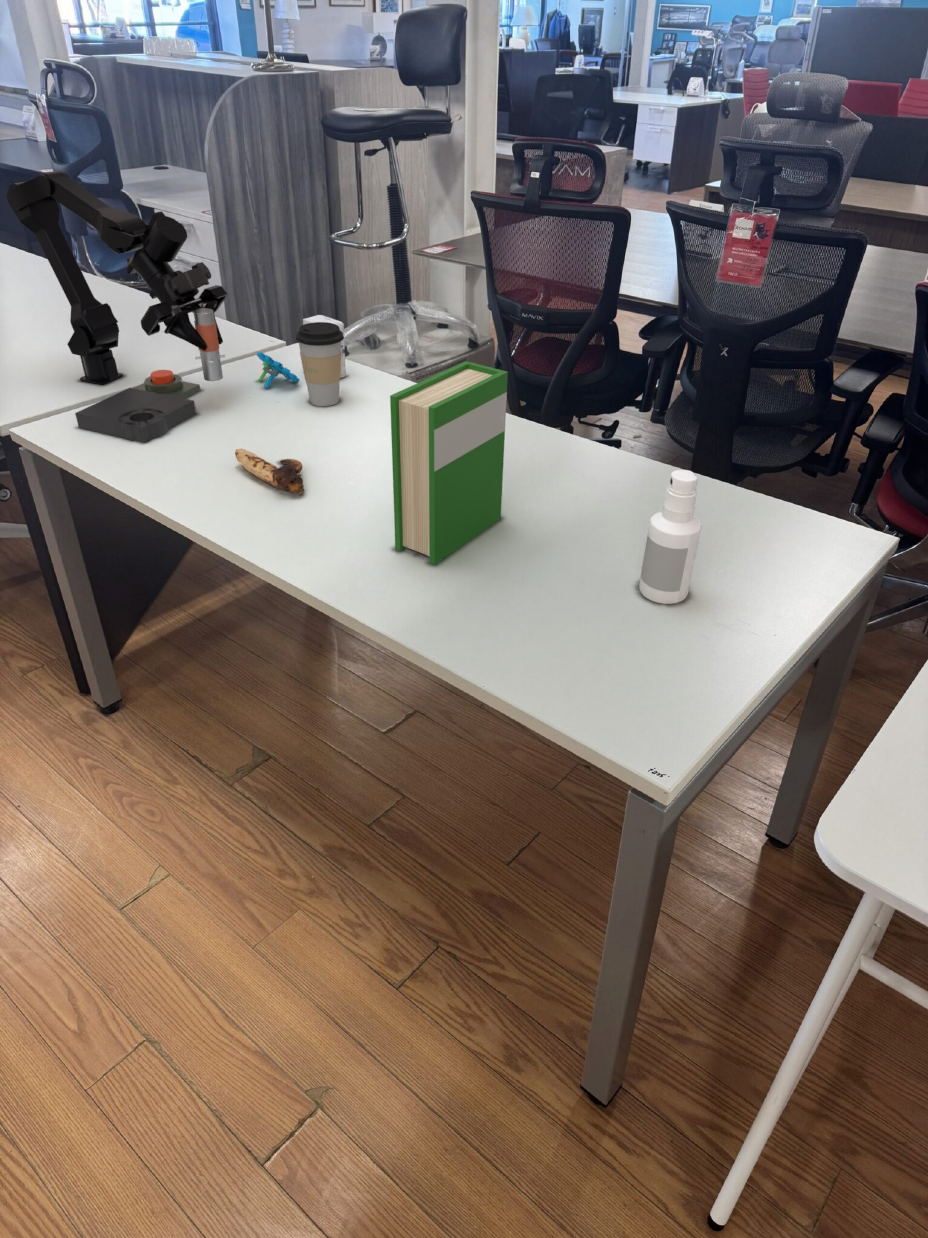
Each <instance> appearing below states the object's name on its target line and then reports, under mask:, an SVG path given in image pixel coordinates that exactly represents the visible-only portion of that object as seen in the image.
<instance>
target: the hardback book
mask: <svg viewBox="0 0 928 1238" xmlns="http://www.w3.org/2000/svg"><path fill="white" fill-rule="evenodd" d="M508 377H509V371H506V370H502V369H499V368H495V367H490V366H486V365H483V364H480V363H475V362H471V361H467V360H465V361H463V362H461V363H458V364H456V365H455V366H452V367H450V368H448V369H445V370H444V371H441V372H439V373H437V374H434V375H432V376H429V377H428V378H425V379H424V380H421V381H419V382H417V383H415V384H412V385H410V386H408V387H405V388H404V389H402V390H399V391H397V392H395V393H392V394H390V395H389V404H390V407H389V408H390V432H391V433H390V435H391V463H392V464H391V465H392V466H391V467H392V489H393V490H392V492H393V520H394V521H393V523H394V524H393V525H394V548H395V549H394V550H396V551H398V552H401V551H403V550H405V549H410V550H413V551H415V552H418V553H420V554H421V555H425V556H428V557H429V564H430V565H434V566H436V565H437V564H438V563H440V562H441V561H443V560H444V559H446V558H447V557H448V556H450V555H451V554H453V553H454V552H455V551H457V550H458V549H460V548H461V547H463V546H464V545H466V544H467V543H468V542H470V541H471V540H473V539H474V538H476V537H477V536H478V535H479V534H481V533H482V532H484V531H485V530H486V529H488V528H490V527H491V526H493V525H494V524H495V523H497V522H498V521H499V520H501V519H502V502H503V501H502V498H503V480H504V479H503V477H504V462H505V461H504V459H505V458H504V457H505V439H506V437H505V436H506V419H507V418H506V417H507V397H508V396H507V395H508V379H509V378H508Z"/></svg>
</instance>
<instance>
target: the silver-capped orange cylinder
mask: <svg viewBox="0 0 928 1238" xmlns="http://www.w3.org/2000/svg"><path fill="white" fill-rule="evenodd" d="M193 312H194V314H193V318H194V321H195V323H194V328H195V329H196V330H197V332H198V333H199V335H200V336H201V337H202V339H203V340H204V342H205V343H206V345H207V347H208V348H207V349H206V350H205V351H204V350H202V349H200V348H198V351H199V356H195V360H201V366H202V367H201V368H202V373H203V374H202V375H203V379H204V381H206V382H217V381H221V380H223V378H224V375H223V370H222V369H223V368H222V367H223V366H222V362H221V361H222V360H221V358H223V359H224V358H226V355H225V354H220V345H219V342H218V335H217V328H216V323H217V321H216V322H215V320H214V315H215V313H213V310H212V309H208V308H201V309H196V310H194V311H193Z"/></svg>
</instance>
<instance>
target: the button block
mask: <svg viewBox="0 0 928 1238" xmlns="http://www.w3.org/2000/svg"><path fill="white" fill-rule="evenodd" d="M173 376H174V381H173V382H171V383H166V384H155V383H152V379H151V375H150V376H148V377H146V378H145V379H144V381H143V382H142V383H141V384H139V385H135V386H134V387H133V388H134V389H139V390H144V391H149V392H154V393H159V394H164V395H169V396H174V397H179V398H184V399H188V398H189V397H192V396H193V395H195V394H197V393H199V392H201V385H200V384H199V383H195V382H188V381H183V378H182V376H180V375H179V374H174V373H173Z"/></svg>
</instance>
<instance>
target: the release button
mask: <svg viewBox="0 0 928 1238" xmlns="http://www.w3.org/2000/svg"><path fill="white" fill-rule="evenodd" d="M173 374H174V372H173V371H172V370H170V369H157V370H154V371H152V372H151V373H150V376H151V379H152V383H155V384H166V383H171V382H173V381H174V376H173Z"/></svg>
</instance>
